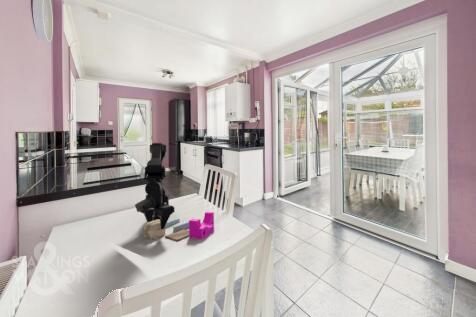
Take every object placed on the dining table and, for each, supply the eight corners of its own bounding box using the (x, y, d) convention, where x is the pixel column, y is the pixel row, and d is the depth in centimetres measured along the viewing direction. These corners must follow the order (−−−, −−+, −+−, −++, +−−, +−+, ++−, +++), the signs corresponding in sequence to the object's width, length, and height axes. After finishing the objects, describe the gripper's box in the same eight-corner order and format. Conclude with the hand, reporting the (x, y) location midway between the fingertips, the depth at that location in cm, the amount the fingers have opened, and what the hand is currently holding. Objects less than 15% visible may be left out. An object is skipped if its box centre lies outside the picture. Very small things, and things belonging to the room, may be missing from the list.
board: (165, 237, 91) (165, 235, 91) (182, 230, 99) (182, 228, 99) (177, 241, 86) (177, 239, 86) (195, 233, 94) (195, 232, 94)
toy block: (201, 239, 88) (201, 221, 88) (189, 237, 90) (188, 220, 90) (218, 228, 102) (218, 212, 102) (207, 226, 104) (207, 211, 104)
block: (144, 237, 91) (144, 223, 91) (158, 232, 97) (158, 219, 97) (151, 239, 88) (151, 225, 88) (165, 234, 94) (165, 221, 94)
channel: (161, 228, 101) (161, 223, 101) (177, 223, 110) (177, 218, 110) (175, 232, 96) (175, 227, 96) (191, 226, 104) (191, 221, 104)
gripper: (125, 193, 91) (126, 228, 92) (151, 197, 81) (152, 237, 81) (148, 189, 101) (149, 221, 101) (175, 192, 90) (175, 228, 91)
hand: (155, 227), depth 93 cm, fingers open, 9 cm apart
